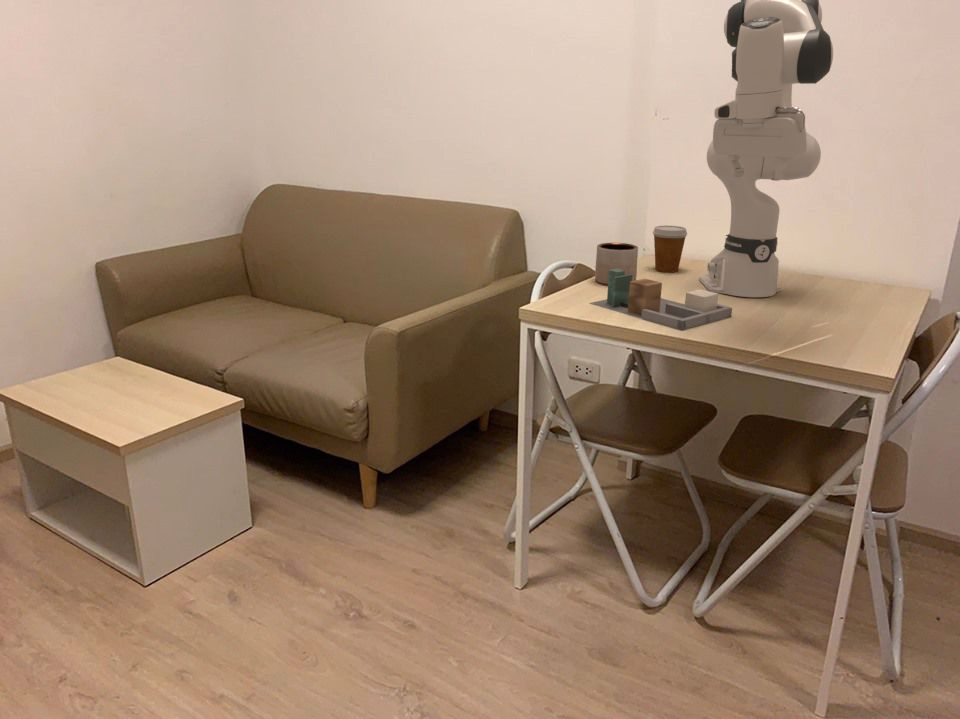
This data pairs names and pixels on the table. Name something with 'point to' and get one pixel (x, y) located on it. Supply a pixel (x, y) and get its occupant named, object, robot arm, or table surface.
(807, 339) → the table surface
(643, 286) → the toy blocks
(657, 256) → the disposable coffee cup
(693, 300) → the cream block
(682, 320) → the board
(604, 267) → the planter
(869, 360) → the table surface
